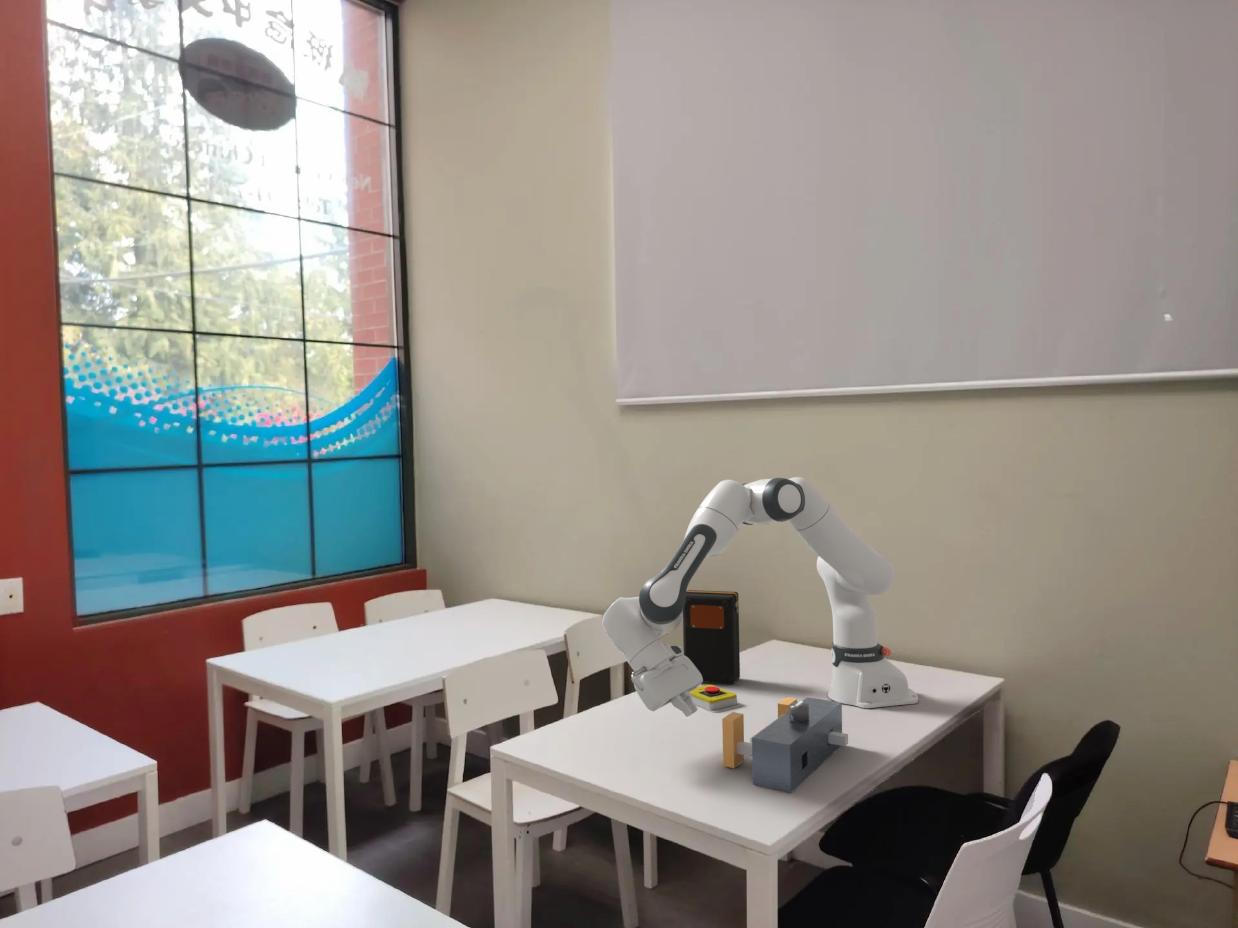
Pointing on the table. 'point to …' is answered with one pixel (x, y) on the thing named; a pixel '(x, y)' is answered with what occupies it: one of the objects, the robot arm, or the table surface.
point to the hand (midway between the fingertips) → (692, 713)
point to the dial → (799, 712)
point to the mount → (795, 746)
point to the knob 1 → (734, 740)
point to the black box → (712, 634)
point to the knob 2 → (832, 736)
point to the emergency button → (714, 698)
